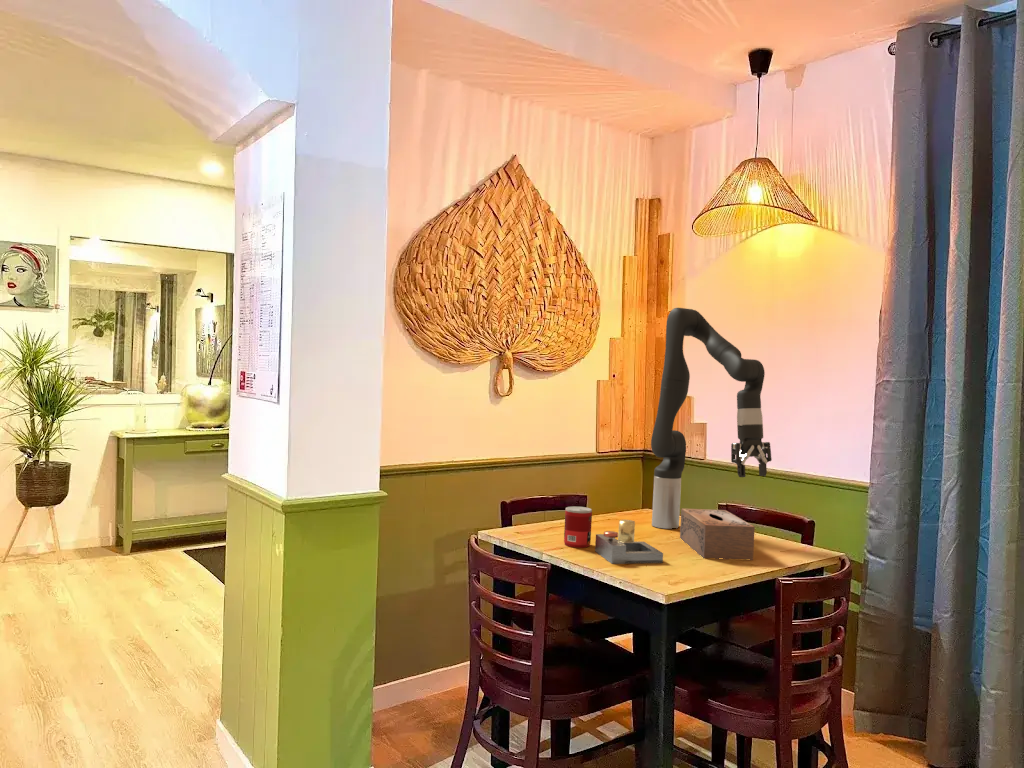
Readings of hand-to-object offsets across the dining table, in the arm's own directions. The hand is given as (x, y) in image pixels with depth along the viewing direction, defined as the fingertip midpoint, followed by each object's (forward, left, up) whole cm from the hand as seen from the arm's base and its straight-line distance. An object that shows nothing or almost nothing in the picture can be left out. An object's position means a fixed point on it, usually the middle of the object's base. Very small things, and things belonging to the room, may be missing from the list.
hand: (752, 476), depth 234 cm
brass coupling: (-9, -37, -23) cm, 44 cm away
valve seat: (+7, -42, -22) cm, 48 cm away
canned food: (-8, -53, -23) cm, 58 cm away
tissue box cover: (-2, -11, -23) cm, 25 cm away
